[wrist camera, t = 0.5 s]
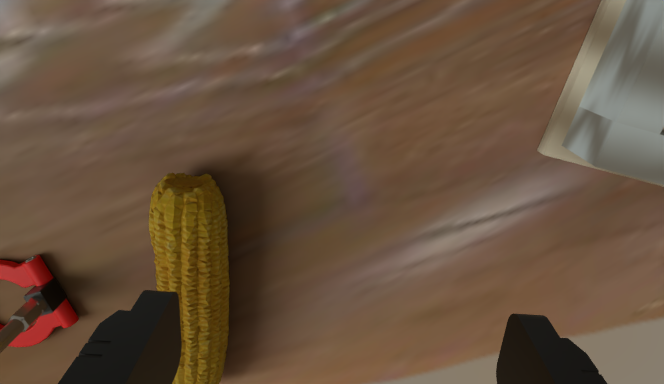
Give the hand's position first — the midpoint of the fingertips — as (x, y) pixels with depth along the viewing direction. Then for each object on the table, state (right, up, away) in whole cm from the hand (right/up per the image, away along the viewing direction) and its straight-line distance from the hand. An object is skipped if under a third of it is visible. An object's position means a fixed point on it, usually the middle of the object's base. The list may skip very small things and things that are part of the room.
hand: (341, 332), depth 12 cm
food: (-11, -4, +30) cm, 33 cm away
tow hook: (-27, -6, +31) cm, 42 cm away
